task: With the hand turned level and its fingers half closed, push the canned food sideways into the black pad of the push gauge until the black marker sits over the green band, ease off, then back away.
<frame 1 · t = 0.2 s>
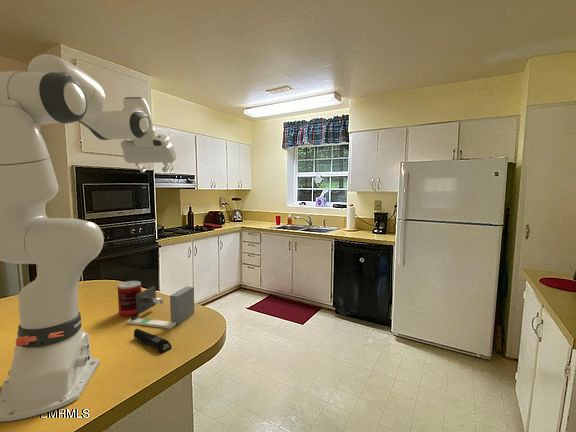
hand: (154, 171, 124), 54 cm above the countertop, tool tilted 25°, fingers open, 8 cm apart
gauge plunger: (150, 303, 105), point 5 cm above the countertop, slide at 0.0 cm
electric trimmer: (151, 345, 87), on the countertop
push gauge: (161, 315, 107), on the countertop
canned food: (130, 312, 110), on the countertop
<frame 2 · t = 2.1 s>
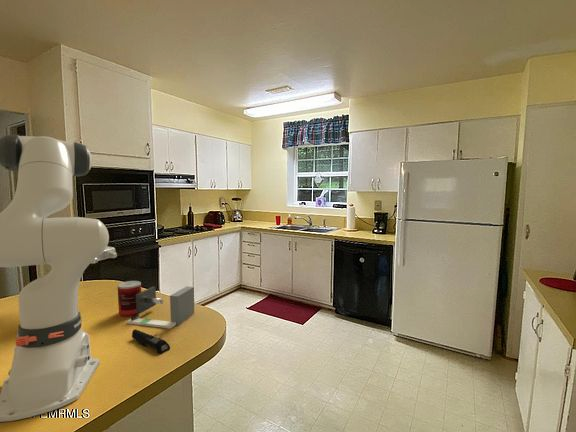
hand: (105, 258, 110), 20 cm above the countertop, tool horizontal, fingers open, 7 cm apart
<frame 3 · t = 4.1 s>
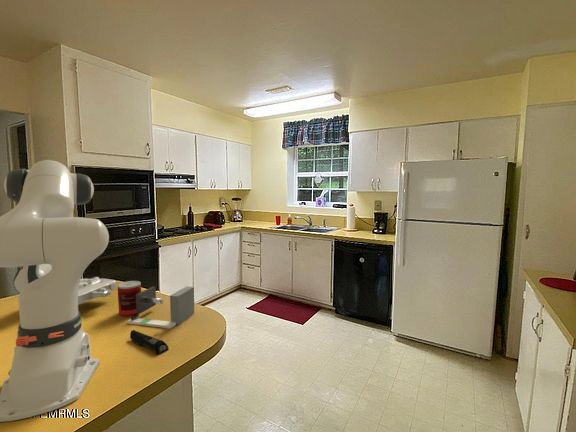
hand: (107, 293, 111), 6 cm above the countertop, tool horizontal, fingers closed
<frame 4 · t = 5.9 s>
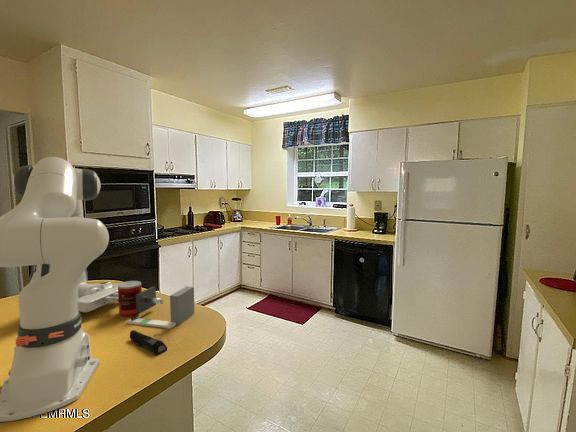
hand: (121, 298, 110), 5 cm above the countertop, tool horizontal, fingers closed, pressing on canned food
canned food: (130, 312, 110), on the countertop, touching gripper
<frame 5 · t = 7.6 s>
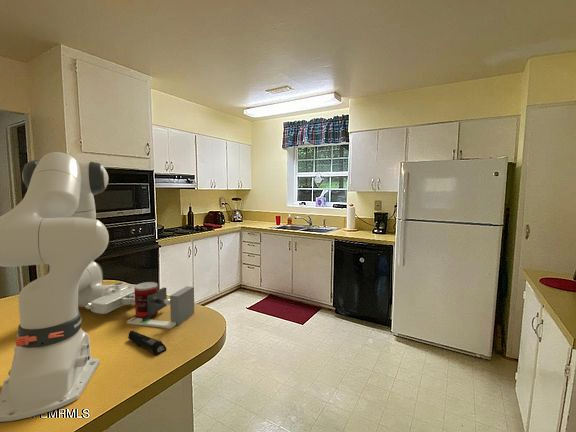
hand: (137, 300, 108), 5 cm above the countertop, tool horizontal, fingers closed, pressing on canned food
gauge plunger: (161, 304, 104), point 5 cm above the countertop, slide at 4.6 cm, touching canned food
canned food: (147, 314, 108), on the countertop, touching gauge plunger, gripper
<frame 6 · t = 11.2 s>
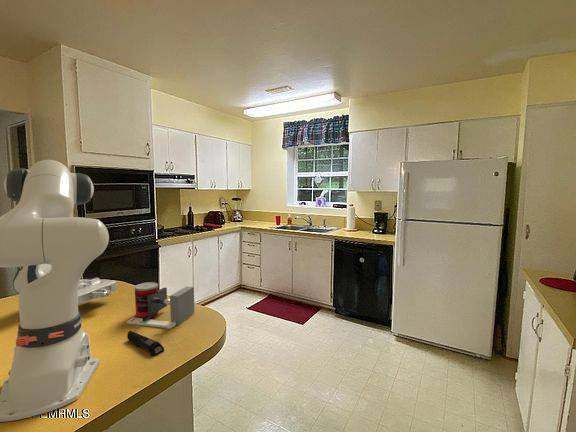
hand: (107, 294, 111), 6 cm above the countertop, tool horizontal, fingers closed
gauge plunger: (162, 304, 104), point 5 cm above the countertop, slide at 4.8 cm
canned food: (147, 314, 108), on the countertop
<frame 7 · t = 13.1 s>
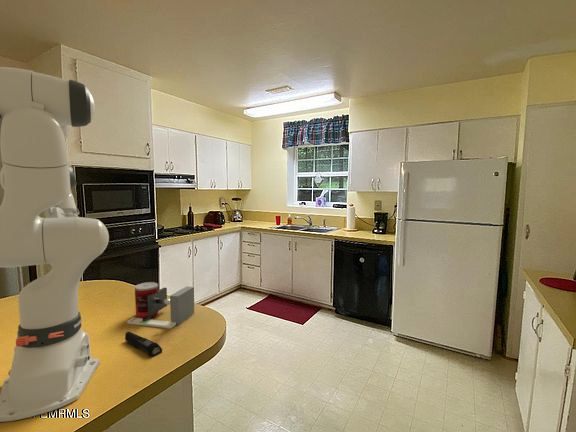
hand: (68, 245, 101), 26 cm above the countertop, tool tilted 20°, fingers closed
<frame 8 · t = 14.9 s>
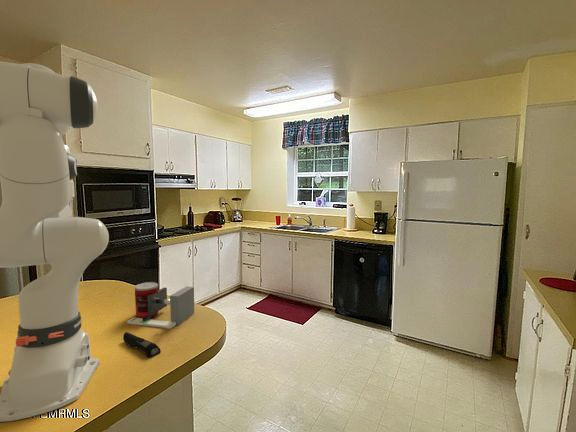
hand: (60, 232, 100), 31 cm above the countertop, tool pointing down, fingers closed
at the end: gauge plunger slide at 4.8 cm; canned food tilted 0°; canned food moved 7.3 cm from its start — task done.
